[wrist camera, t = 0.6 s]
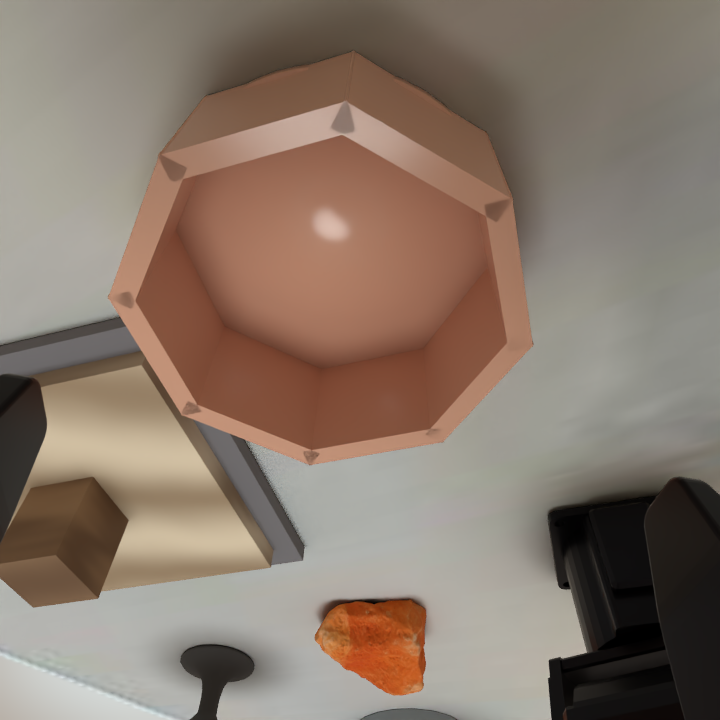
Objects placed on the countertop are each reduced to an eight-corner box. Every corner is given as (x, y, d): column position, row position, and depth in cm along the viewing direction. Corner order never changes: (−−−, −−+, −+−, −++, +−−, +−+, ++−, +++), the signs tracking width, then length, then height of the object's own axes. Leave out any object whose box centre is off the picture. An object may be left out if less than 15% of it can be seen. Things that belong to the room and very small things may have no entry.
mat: (304, 547, 33) (302, 560, 33) (47, 585, 36) (41, 597, 36) (168, 306, 24) (162, 318, 23) (-165, 384, 27) (-177, 397, 26)
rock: (264, 551, 35) (252, 623, 31) (483, 550, 34) (494, 623, 31) (290, 655, 42) (282, 722, 39) (470, 656, 41) (478, 725, 38)
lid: (273, 550, 32) (258, 644, 28) (47, 583, 35) (4, 674, 31) (149, 349, 24) (103, 442, 20) (-134, 411, 27) (-223, 505, 23)
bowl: (520, 335, 24) (547, 426, 20) (245, 391, 26) (221, 482, 22) (470, 11, 17) (496, 52, 13) (104, 123, 19) (34, 187, 16)
